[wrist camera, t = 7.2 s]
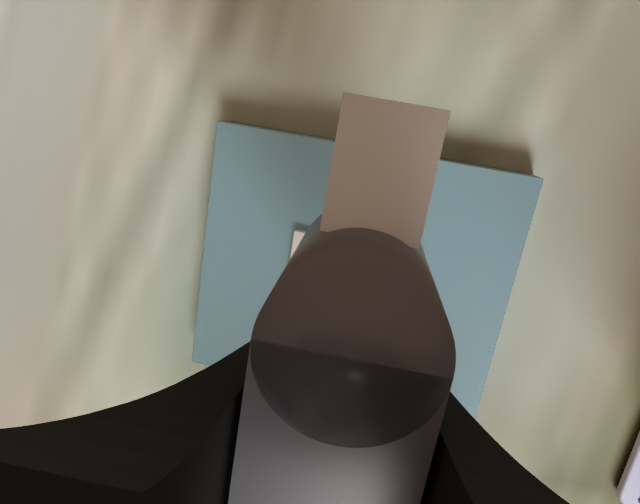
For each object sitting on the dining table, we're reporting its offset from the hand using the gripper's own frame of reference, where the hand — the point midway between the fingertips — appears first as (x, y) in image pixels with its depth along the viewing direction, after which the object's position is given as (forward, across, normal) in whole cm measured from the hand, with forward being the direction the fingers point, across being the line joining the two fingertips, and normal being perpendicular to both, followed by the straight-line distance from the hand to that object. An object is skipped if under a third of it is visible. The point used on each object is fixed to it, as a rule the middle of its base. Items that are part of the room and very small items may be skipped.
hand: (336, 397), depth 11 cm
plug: (+2, 0, -1) cm, 2 cm away
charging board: (+10, 0, 0) cm, 10 cm away
